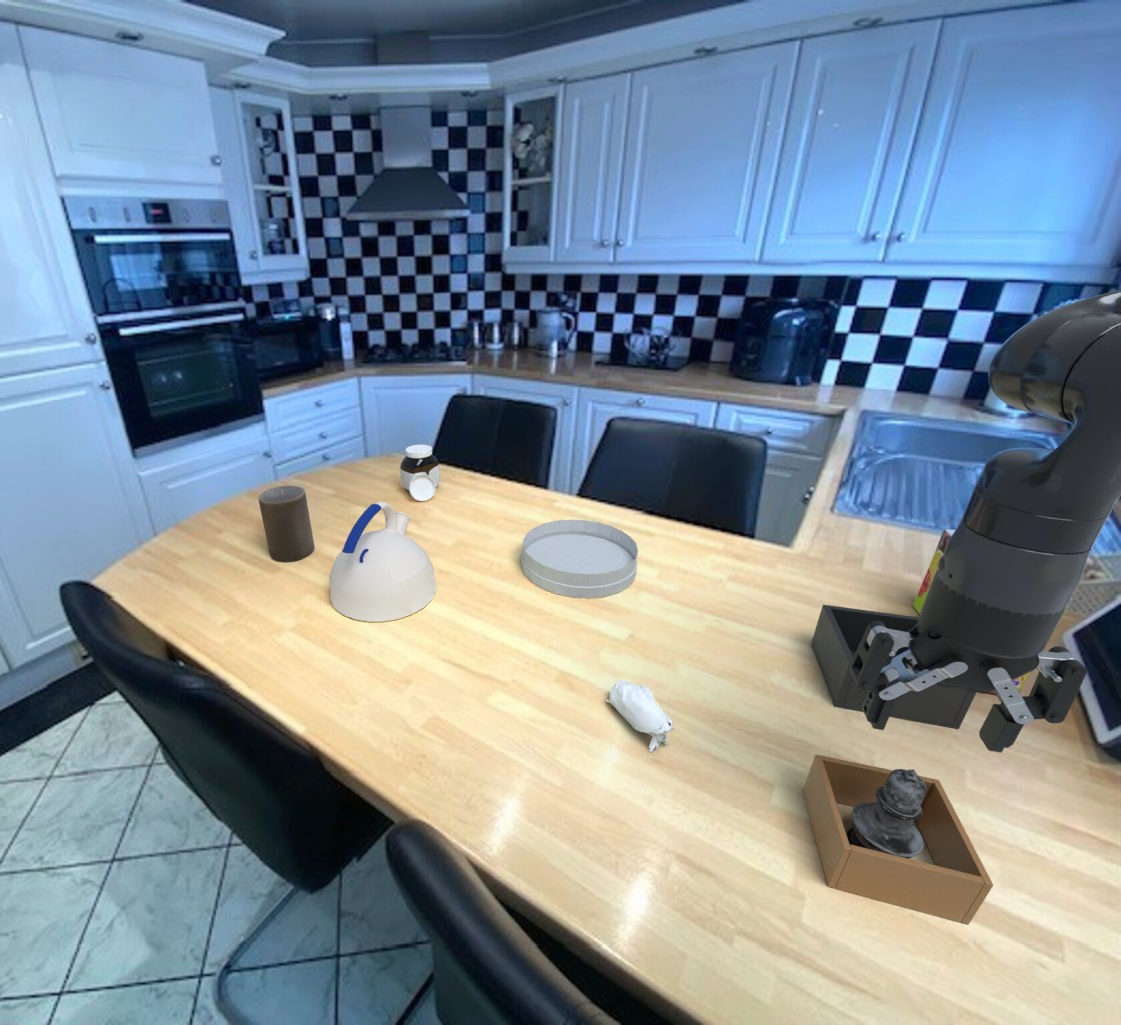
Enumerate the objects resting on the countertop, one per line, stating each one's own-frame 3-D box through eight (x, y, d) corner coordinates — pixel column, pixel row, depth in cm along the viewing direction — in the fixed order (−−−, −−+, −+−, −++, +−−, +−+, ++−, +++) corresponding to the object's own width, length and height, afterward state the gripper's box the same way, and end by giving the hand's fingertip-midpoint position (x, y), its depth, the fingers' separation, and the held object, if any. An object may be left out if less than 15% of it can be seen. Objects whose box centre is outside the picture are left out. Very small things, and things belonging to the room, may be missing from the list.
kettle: (454, 573, 111) (451, 489, 103) (405, 634, 94) (397, 540, 86) (366, 555, 119) (357, 476, 111) (307, 609, 102) (291, 520, 94)
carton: (920, 817, 61) (939, 779, 58) (969, 924, 51) (993, 885, 49) (802, 790, 64) (815, 753, 62) (827, 886, 55) (844, 847, 52)
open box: (916, 660, 83) (933, 619, 79) (959, 729, 71) (980, 684, 68) (810, 644, 87) (822, 604, 84) (834, 706, 76) (849, 663, 72)
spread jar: (426, 481, 155) (424, 440, 149) (454, 492, 147) (452, 450, 142) (391, 493, 148) (388, 452, 143) (418, 506, 140) (415, 462, 135)
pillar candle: (292, 566, 116) (280, 501, 110) (260, 555, 121) (246, 492, 114) (324, 546, 123) (314, 483, 117) (292, 536, 128) (281, 476, 122)
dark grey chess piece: (867, 816, 61) (901, 736, 56) (926, 865, 56) (969, 783, 51) (829, 836, 60) (860, 756, 54) (886, 888, 55) (927, 806, 49)
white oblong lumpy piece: (679, 743, 73) (628, 682, 80) (688, 718, 68) (634, 656, 75) (648, 761, 72) (600, 697, 79) (655, 737, 67) (603, 672, 74)
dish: (498, 567, 112) (498, 545, 110) (565, 530, 125) (566, 509, 123) (592, 613, 97) (594, 589, 94) (658, 565, 110) (661, 543, 107)
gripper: (908, 594, 43) (850, 747, 50) (1159, 626, 38) (1056, 788, 45) (875, 548, 49) (828, 689, 56) (1087, 570, 45) (1007, 720, 52)
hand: (930, 733), depth 51 cm, fingers open, 8 cm apart
